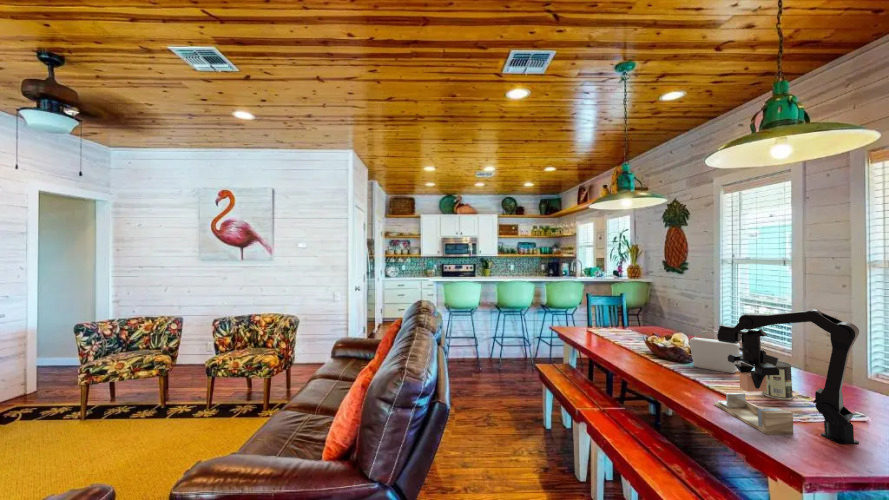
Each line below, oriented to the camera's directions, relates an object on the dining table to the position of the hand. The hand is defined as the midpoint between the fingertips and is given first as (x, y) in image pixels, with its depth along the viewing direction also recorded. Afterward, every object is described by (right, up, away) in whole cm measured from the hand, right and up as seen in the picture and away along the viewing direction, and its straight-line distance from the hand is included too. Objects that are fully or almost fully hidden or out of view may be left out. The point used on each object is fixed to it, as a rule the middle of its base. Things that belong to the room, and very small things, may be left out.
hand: (753, 386), depth 143 cm
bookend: (-2, -10, +8) cm, 13 cm away
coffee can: (+26, -11, +19) cm, 34 cm away
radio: (+27, -12, +57) cm, 64 cm away
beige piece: (-2, -12, -2) cm, 12 cm away
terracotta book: (0, -1, 0) cm, 1 cm away
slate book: (-3, -12, -11) cm, 16 cm away
